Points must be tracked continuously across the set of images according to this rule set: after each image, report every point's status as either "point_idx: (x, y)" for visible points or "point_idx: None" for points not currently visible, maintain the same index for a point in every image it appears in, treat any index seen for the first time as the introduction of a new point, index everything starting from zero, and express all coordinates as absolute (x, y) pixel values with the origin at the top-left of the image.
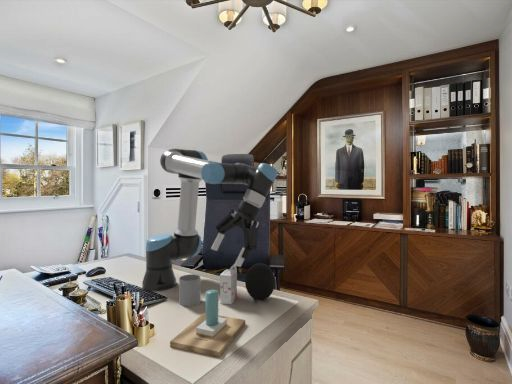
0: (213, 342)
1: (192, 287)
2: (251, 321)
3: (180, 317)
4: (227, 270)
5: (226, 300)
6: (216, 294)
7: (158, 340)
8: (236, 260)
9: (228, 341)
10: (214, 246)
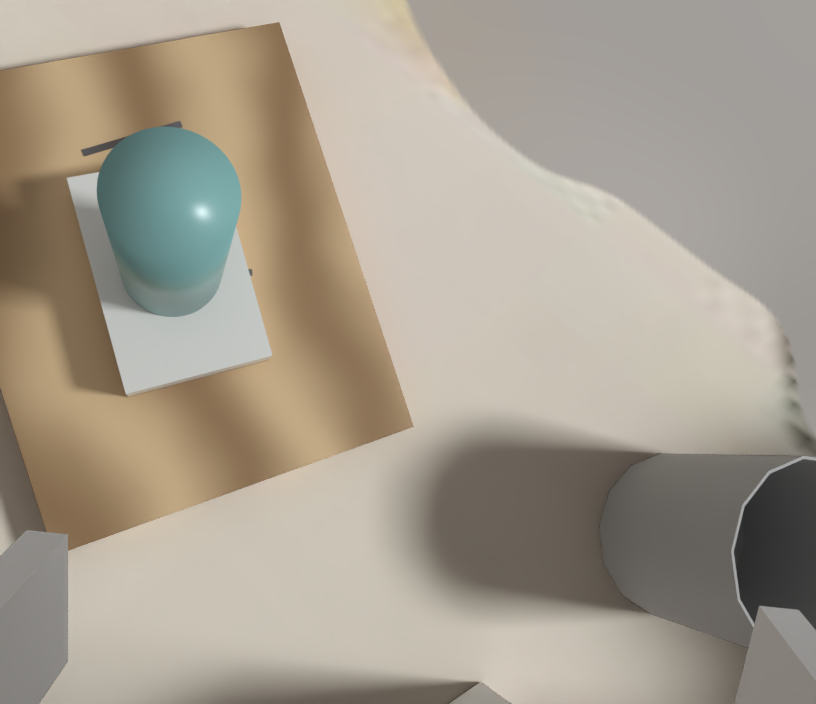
0: (28, 153)
1: (695, 512)
2: None
3: (523, 323)
4: None
5: None
6: (98, 194)
7: (386, 51)
8: (21, 579)
9: None
10: (784, 676)
